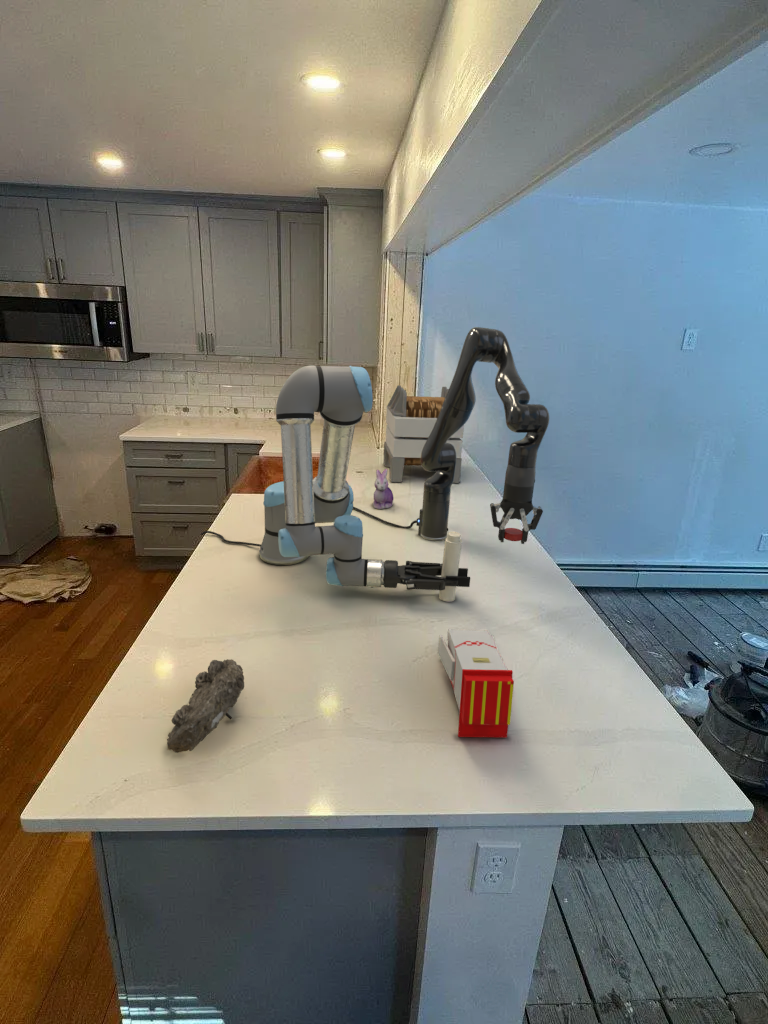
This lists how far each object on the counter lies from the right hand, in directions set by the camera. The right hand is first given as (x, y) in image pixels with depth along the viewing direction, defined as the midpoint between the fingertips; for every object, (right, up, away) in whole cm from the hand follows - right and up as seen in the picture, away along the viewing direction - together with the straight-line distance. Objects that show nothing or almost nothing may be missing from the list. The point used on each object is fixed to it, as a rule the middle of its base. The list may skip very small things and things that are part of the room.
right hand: (511, 541), depth 153 cm
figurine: (-35, +10, +75) cm, 83 cm away
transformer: (-17, +27, +122) cm, 126 cm away
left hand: (-11, -10, +2) cm, 15 cm away
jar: (-17, -16, +4) cm, 24 cm away
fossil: (-67, -31, -45) cm, 86 cm away
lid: (0, +3, -1) cm, 3 cm away
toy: (-17, -30, -34) cm, 48 cm away
